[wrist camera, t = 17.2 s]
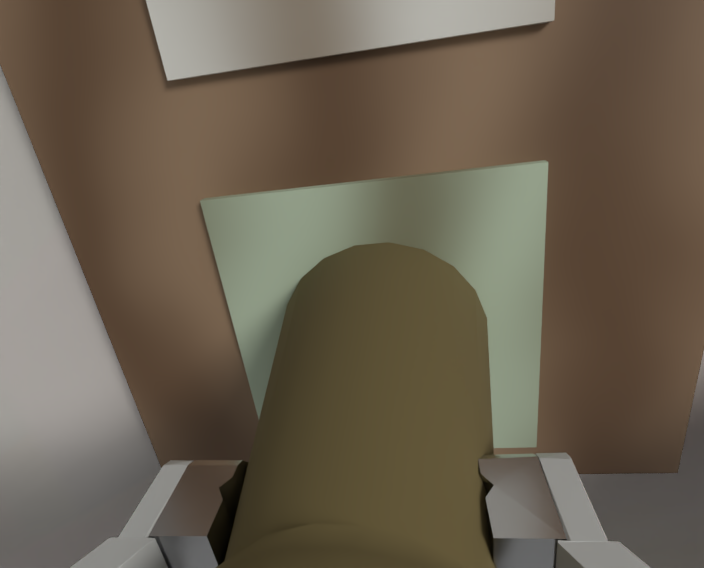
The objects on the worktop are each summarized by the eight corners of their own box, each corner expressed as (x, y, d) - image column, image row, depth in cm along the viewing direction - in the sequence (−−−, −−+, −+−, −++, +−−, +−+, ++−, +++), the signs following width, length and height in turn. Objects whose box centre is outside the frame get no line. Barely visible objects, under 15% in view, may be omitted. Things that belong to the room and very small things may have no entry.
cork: (287, 409, 15) (47, 1071, 5) (278, 235, 12) (-243, 875, 2) (473, 427, 14) (619, 1214, 4) (504, 248, 12) (1008, 1154, 2)
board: (917, -921, 6) (1040, -1162, 5) (661, 450, 16) (682, 480, 14) (-175, -476, 9) (-265, -563, 8) (177, 458, 18) (162, 485, 17)
